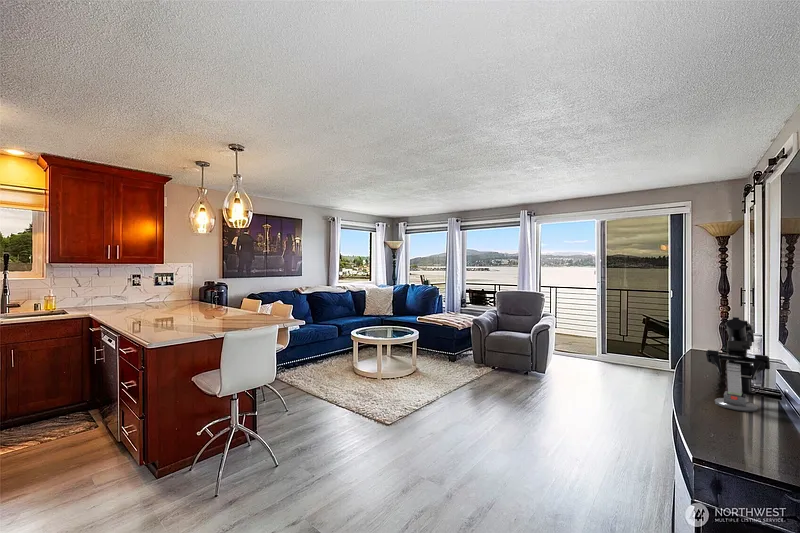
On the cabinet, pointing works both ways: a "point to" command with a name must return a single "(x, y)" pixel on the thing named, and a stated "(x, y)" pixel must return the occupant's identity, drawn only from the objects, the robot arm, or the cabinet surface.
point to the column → (734, 379)
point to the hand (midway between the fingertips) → (736, 376)
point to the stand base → (736, 403)
